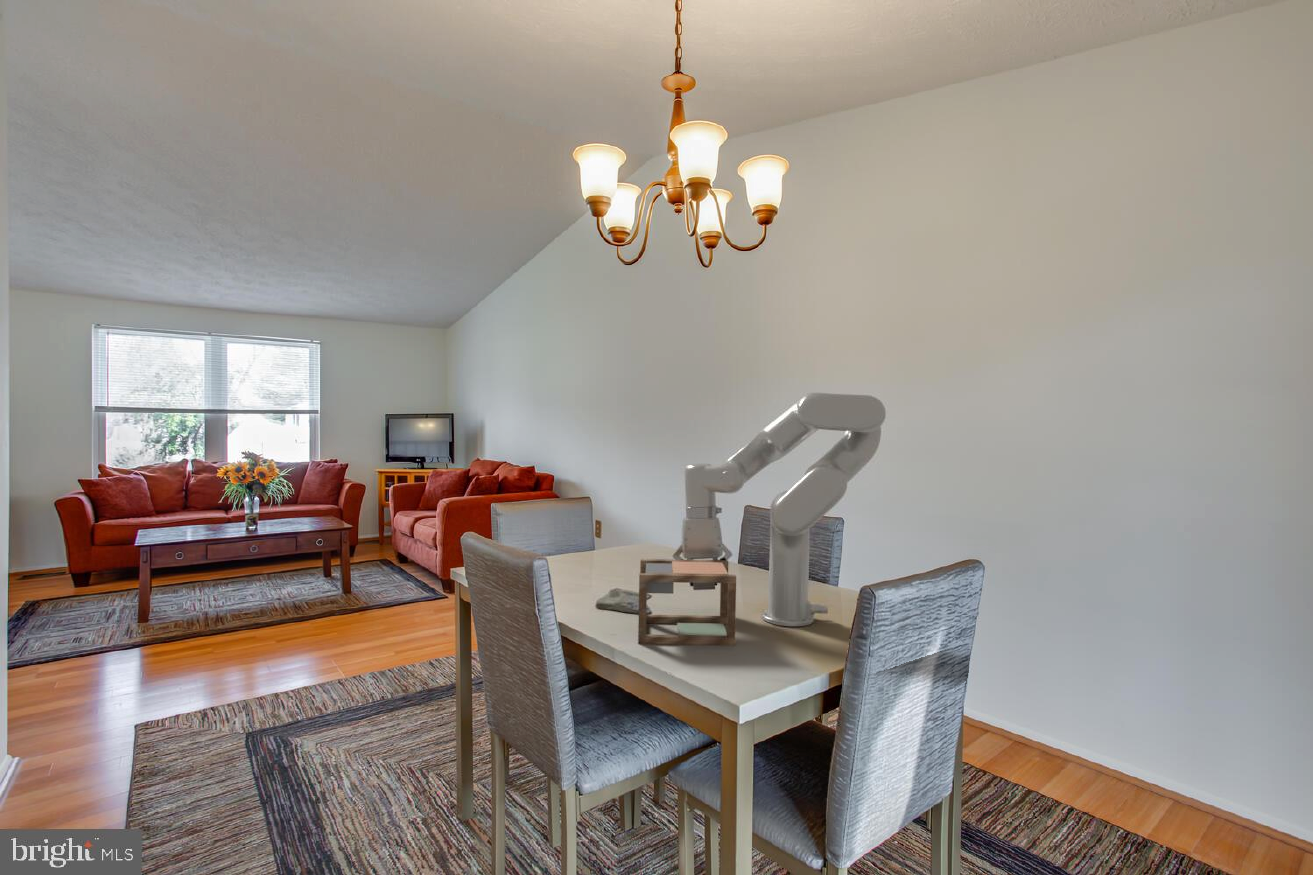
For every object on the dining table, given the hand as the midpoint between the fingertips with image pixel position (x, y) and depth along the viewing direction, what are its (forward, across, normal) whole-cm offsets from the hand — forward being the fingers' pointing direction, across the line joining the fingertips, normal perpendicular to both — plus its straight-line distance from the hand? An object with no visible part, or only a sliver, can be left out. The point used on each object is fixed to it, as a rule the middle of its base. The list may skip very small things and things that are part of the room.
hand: (703, 583), depth 163 cm
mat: (+8, +2, +15) cm, 17 cm away
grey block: (+1, 0, 0) cm, 1 cm away
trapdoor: (-3, +5, +15) cm, 16 cm away
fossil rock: (+7, +20, -8) cm, 22 cm away
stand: (+7, +6, +15) cm, 17 cm away
